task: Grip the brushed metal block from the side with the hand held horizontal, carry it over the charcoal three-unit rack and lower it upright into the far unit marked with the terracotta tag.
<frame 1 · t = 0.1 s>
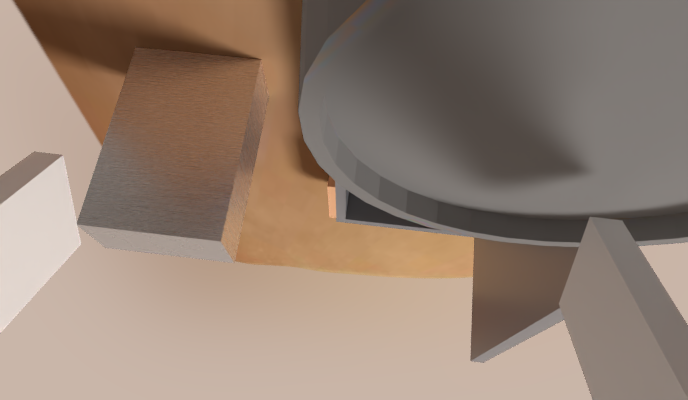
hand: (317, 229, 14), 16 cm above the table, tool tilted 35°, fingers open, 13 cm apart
rack: (425, 128, 39), on the table
brushed metal block: (205, 72, 36), on the table
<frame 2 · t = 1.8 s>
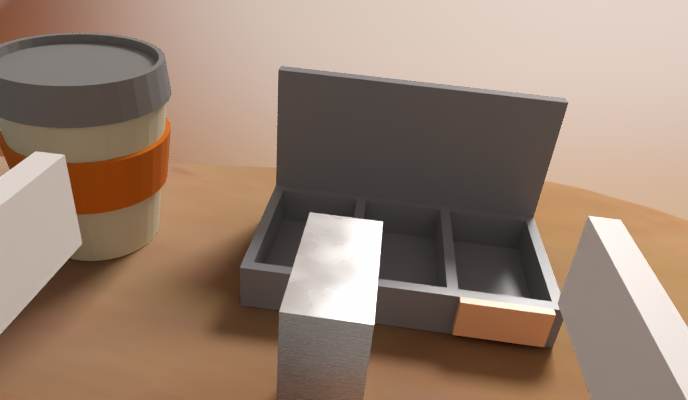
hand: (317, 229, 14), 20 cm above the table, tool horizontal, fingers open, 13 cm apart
reusable coffee cup: (104, 230, 47), on the table
rack: (396, 274, 45), on the table
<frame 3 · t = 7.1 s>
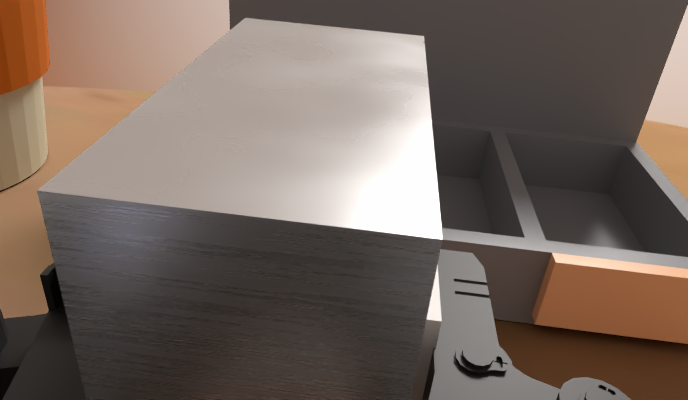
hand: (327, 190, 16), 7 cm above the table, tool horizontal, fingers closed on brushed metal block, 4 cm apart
rack: (423, 229, 28), on the table
when the fingers open (9 cm above the table, at t = 13.3 s): brushed metal block drops 1 cm, resting on rack.
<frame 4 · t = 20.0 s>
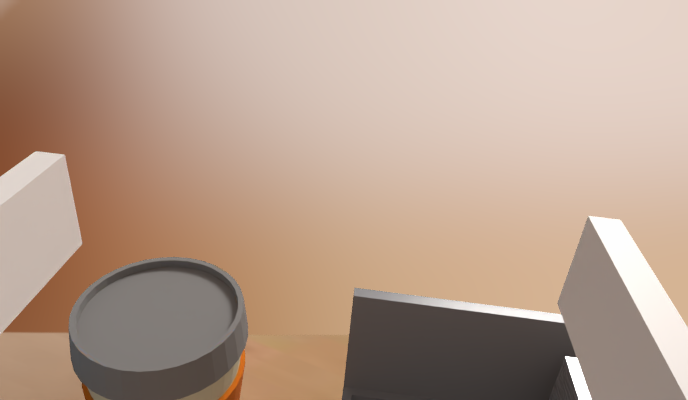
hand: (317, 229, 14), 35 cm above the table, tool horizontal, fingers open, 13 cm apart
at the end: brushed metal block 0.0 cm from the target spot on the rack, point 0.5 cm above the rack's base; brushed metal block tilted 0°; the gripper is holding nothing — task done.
